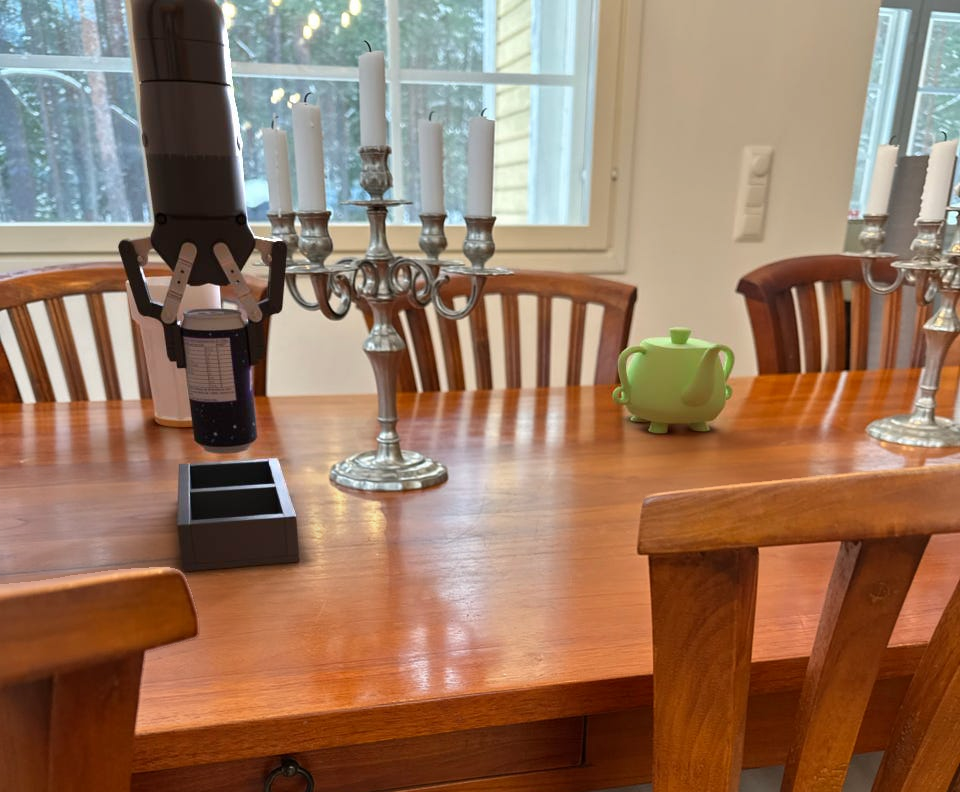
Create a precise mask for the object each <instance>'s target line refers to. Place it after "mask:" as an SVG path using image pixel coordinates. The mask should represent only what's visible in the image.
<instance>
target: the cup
mask: <svg viewBox="0 0 960 792" xmlns="http://www.w3.org/2000/svg"><path fill="white" fill-rule="evenodd" d="M171 278H172V275H171V276H170V275H165V276H163V275H161V276H147V277H145V279H146V283H147V286H148V289H149V292H150V295H151V299H152V301H155V302H158V303H161V304H164V301H165V297H166V294H167V291H168V288H169V284H170V281H171ZM125 288H126V293H127V294H126V295H127V299H128V304H129V309H130V315H131V319H132V320H133V321H135V323H136V324H137V325H138V326H139V328H140V335H141V340H142V346H143V352H144V355H145V356H144V357H145V358H144V359H145V363H146V368H147V375H148V379H149V385H150V392H151V397H152V403H153V408H154V414H153V415H154V422H155V423H157V425H160V426H165V427H170V428H193V426H192V418H191V410H190V402H189V394H188V386H187V378H186V370H185V368H177V364H176V362H170V360H169V358H168V357H167V351H166V344H165V336H164V329H163V325H162V323H161V322H160V321H159V320H157V319H154V318H151V317H148V316H142V315H141V314H140V313H139V312H138V309H137V306H136V303H135V300H134V297H133V294H132V290H131V287H130V284H129V281H128V279H127V280H125ZM220 288H221V286H217V285H213V284H205V285H202V286H190V285H186V288H185V291H184V294H183V297H182V300H181V303H180V306H179V309H178V313H177V321H180V327H181V325H182V322H183V319H184V315H183V312H185V311H188V310H194V309H217V308H219V309H222V303H221V289H220Z"/></svg>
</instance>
